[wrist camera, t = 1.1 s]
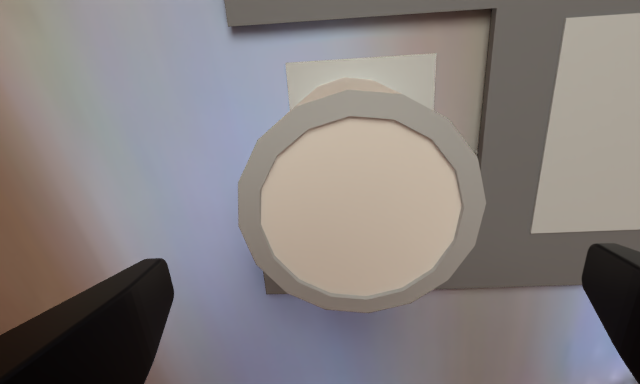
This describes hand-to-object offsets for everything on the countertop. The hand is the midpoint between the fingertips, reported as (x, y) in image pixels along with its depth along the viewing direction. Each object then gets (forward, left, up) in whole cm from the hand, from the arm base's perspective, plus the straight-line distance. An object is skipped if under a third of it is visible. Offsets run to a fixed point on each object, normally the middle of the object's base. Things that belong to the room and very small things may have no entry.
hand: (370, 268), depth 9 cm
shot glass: (0, 0, -10) cm, 10 cm away
